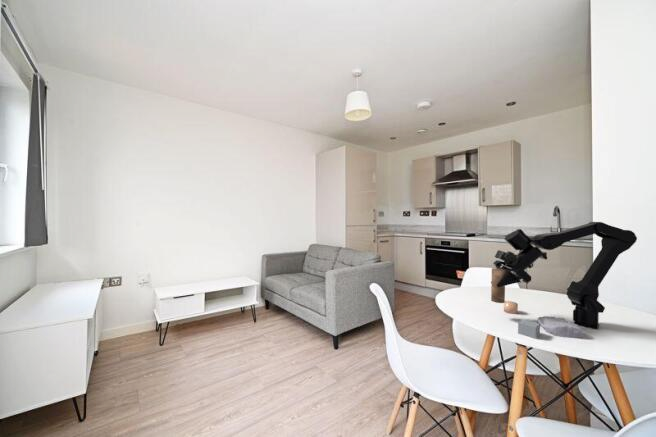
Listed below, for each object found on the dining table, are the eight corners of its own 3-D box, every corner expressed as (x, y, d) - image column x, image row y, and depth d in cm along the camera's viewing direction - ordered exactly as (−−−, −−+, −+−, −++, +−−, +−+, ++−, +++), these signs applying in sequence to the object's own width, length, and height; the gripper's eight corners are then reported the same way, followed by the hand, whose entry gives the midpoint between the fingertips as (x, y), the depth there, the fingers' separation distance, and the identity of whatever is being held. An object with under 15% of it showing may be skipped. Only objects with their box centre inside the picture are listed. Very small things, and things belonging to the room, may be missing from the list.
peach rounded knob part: (519, 312, 114) (519, 303, 114) (515, 315, 111) (515, 305, 111) (505, 309, 118) (505, 300, 118) (501, 311, 115) (502, 302, 115)
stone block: (553, 342, 91) (586, 339, 89) (550, 328, 91) (583, 324, 89) (533, 329, 102) (562, 326, 101) (530, 316, 103) (559, 313, 101)
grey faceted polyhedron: (539, 335, 92) (539, 323, 92) (535, 339, 89) (535, 327, 89) (522, 330, 96) (522, 319, 96) (517, 333, 93) (518, 322, 93)
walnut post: (506, 301, 106) (506, 269, 106) (502, 303, 103) (503, 270, 103) (493, 298, 110) (494, 267, 110) (489, 300, 107) (490, 268, 107)
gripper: (498, 241, 115) (470, 266, 117) (522, 246, 97) (489, 275, 99) (518, 260, 114) (489, 284, 116) (546, 268, 95) (512, 297, 97)
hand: (494, 284), depth 107 cm, fingers closed on walnut post, 5 cm apart
